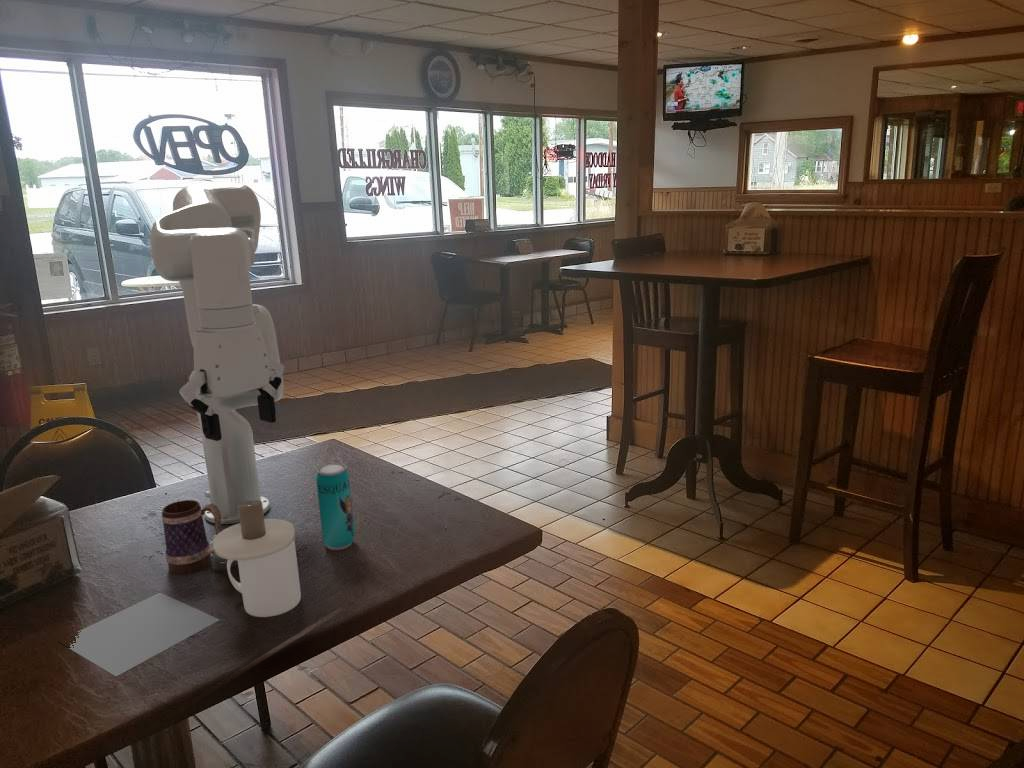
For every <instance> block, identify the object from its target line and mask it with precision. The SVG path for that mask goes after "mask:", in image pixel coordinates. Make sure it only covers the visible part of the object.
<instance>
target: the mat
mask: <svg viewBox="0 0 1024 768" xmlns="http://www.w3.org/2000/svg"><path fill="white" fill-rule="evenodd" d="M219 621H221V619H219V618H217V617H214V616H213V615H211V614H208V613H206V612H203V611H202V610H199V609H197V608H195V607H193V606H191V605H189V604H187V603H184V602H182V601H180V600H178V599H175V598H173V597H171V596H169V595H166V594H165V593H162V592H158V593H155V594H154V595H152V596H150V597H148V598H146V599H144V600H141V601H139V602H137V603H134V604H133V605H130V606H129V607H127V608H124V609H123V610H120V611H118V612H116V613H114V614H112V615H110V616H107V617H106V618H104V619H101V620H100V621H97V622H95V623H93V624H90V625H89V626H87V627H84V628H82V629H80V630H78V631H77V632H80V631H81V632H80V633H78V634H79V635H78V636H79V638H77V637H78V636H75V637H76V643H73V644H71V643H70V644H71V645H70V647H71V648H68V649H69V650H70V649H71V651H72V652H74V653H75V654H77V655H79V656H81V657H82V658H84V659H85V660H87V661H89V662H90V663H92V664H94V665H96V666H97V667H99V668H101V669H102V670H104V671H106V672H107V673H109V674H111V675H112V676H114V677H115V678H116V677H118V676H121V675H122V674H124V673H126V672H128V671H130V670H132V669H134V668H135V667H136V666H139V665H141V664H143V663H145V662H146V661H149V660H150V659H152V658H153V657H155V656H157V655H159V654H161V653H163V652H164V651H166V650H168V649H170V648H172V647H174V646H176V645H177V644H179V643H181V642H183V641H185V640H187V639H188V638H190V637H192V636H193V635H195V634H197V633H200V632H202V631H203V630H205V629H207V628H209V627H211V626H212V625H214V624H216V623H217V622H219ZM73 642H75V641H73ZM72 645H74V646H72ZM73 647H74V648H73Z"/></svg>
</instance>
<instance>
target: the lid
mask: <svg viewBox="0 0 1024 768" xmlns="http://www.w3.org/2000/svg"><path fill="white" fill-rule="evenodd" d="M238 511H239V518H240V523H235V524H232V525H230V526H228V527H227V528H224V529H222V531H221V532H220V533H218V534H217V535H216V534H215V536H214V537H213V539H212V548H213V549H214V553H213V554H215V555H216V556H217V557H219V558H221V559H225V560H227V561H228V560H234V561H238V560H250V559H256V558H261V557H265V556H268V555H271V554H274V553H277V552H279V551H281V550H283V549H285V548H286V547H288V546H289V545H290V544H291V543H292V542H293V541H294V540H295V539H296V532H295V531H296V530H295V525H293V523H291V522H290V521H288V520H285V519H280V518H265V516H264V515H265V513H264V514H263V506H262V502H261V501H259V500H251V501H246V502H243V503H241V504H239V505H238Z"/></svg>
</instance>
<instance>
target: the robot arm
mask: <svg viewBox="0 0 1024 768" xmlns="http://www.w3.org/2000/svg"><path fill="white" fill-rule="evenodd" d="M261 217H262V215H261V206H260V202H259V199H258V197H257V195H256V193H255V192H254V191H253V189H252V188H251V187H249V186H248V185H246V184H243V183H209V184H208V183H207V184H194V185H193V184H192V185H187V186H185V187H183V188H182V189H180V190H179V191H178V192H177V193H176V194H175V196H174V197H173V201H172V212H170V213H166V214H165V215H163V216H161V217H159V218H157V219H156V220H155V221H154V222H153V225H151V229H150V235H149V237H150V238H149V239H150V244H149V245H150V253H151V259H152V263H153V266H154V268H155V270H156V272H157V274H158V275H159V276H160V277H161V278H162V279H164V280H166V281H168V282H179V285H180V287H181V290H182V295H183V301H184V308H185V313H186V314H185V315H186V320H187V321H186V322H187V326H188V327H187V328H188V333H189V337H190V341H191V345H192V348H193V369H194V370H192V372H191V373H190V375H189V379H188V381H187V382H186V383H185V384H183V386H182V387H181V388H180V389H179V390H178V391H179V394H180V396H181V397H182V399H183V400H184V401H185V402H186V404H187V406H188V407H189V408H191V409H192V410H194V411H195V412H196V415H197V419H198V423H199V428H200V434H201V440H202V446H203V453H204V460H205V467H206V473H207V481H208V487H209V490H206V491H205V492H204V497H205V498H208V499H209V501H210V503H209V504H212V503H213V504H215V505H216V506H217V507H218V509H219V511H220V512H221V525H231V524H232V525H234V524H239V523H240V518H239V511H238V505H239V504H241V503H243V502H246V501H251V500H259V501H261V502H262V506H263V514H264V515H265V514H267V512H268V511H269V509H270V501H269V499H268V498H266V497H264V496H261V491H260V490H261V489H260V482H259V475H258V474H259V473H258V466H257V459H256V449H255V443H254V435H253V429H252V427H251V424H250V423H249V421H248V420H247V419H246V418H244V416H242V415H241V414H240V413H238V412H237V411H236V410H237V409H242V408H246V407H247V408H248V407H255V406H258V409H257V410H258V417H259V419H260V421H263V422H267V423H276V421H277V416H276V414H277V412H276V405H275V404H276V402H278V401H280V399H282V398H283V395H284V388H285V387H284V385H285V384H284V377H283V374H284V372H285V364H282V363H281V359H280V352H279V347H278V342H277V341H278V340H277V334H276V329H275V324H274V321H273V318H272V315H271V313H270V311H269V309H267V308H266V306H264V305H262V304H254V302H253V295H252V288H251V279H250V271H251V268H252V267H253V265H254V264H255V260H256V259H255V254H256V251H258V246H259V239H260V238H259V237H260V230H261V222H262V221H261V219H262V218H261ZM204 517H205V520H206V521H208V522H210V523H212V524H215V518H214V516H213V514H212V513H211V512H209V511H206V512H205V514H204Z"/></svg>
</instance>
